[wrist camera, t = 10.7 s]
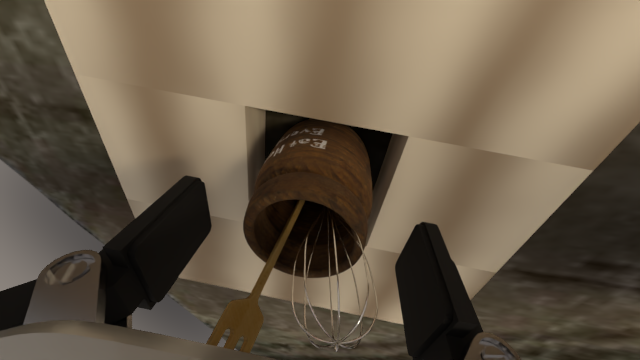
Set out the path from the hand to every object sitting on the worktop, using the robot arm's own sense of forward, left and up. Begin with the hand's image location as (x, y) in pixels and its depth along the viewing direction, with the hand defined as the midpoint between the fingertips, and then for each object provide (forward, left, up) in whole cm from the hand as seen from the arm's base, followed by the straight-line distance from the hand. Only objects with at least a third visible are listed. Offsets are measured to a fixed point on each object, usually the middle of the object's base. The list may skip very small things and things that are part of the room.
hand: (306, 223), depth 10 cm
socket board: (0, 0, -6) cm, 6 cm away
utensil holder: (0, 0, -6) cm, 6 cm away
